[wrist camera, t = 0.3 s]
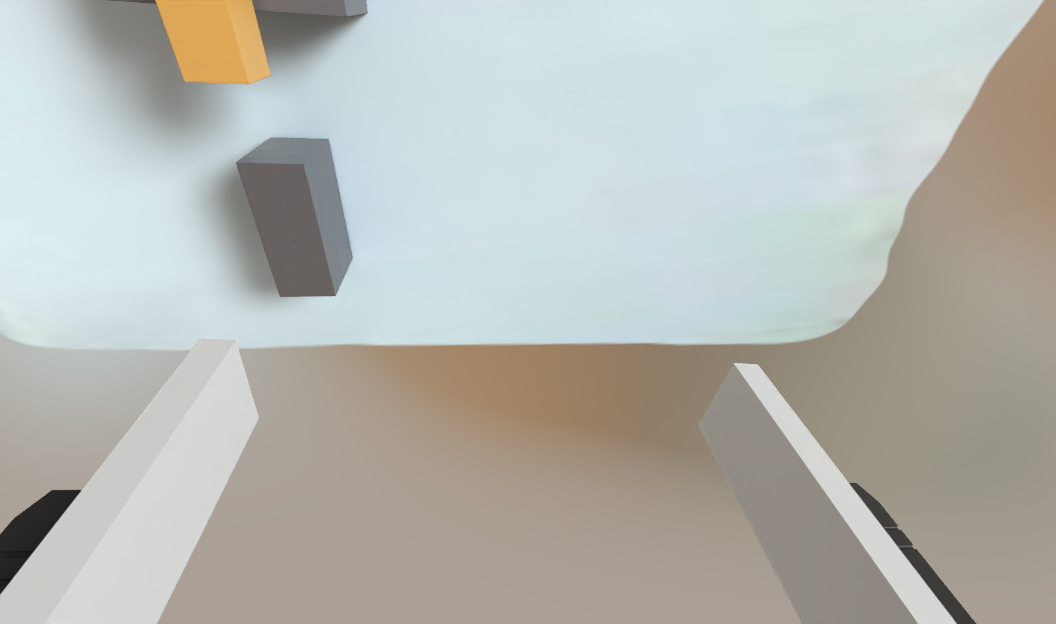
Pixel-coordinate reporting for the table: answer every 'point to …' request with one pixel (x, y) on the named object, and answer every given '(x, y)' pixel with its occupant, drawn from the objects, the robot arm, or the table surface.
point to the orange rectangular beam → (215, 40)
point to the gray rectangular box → (298, 214)
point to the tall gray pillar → (304, 6)
